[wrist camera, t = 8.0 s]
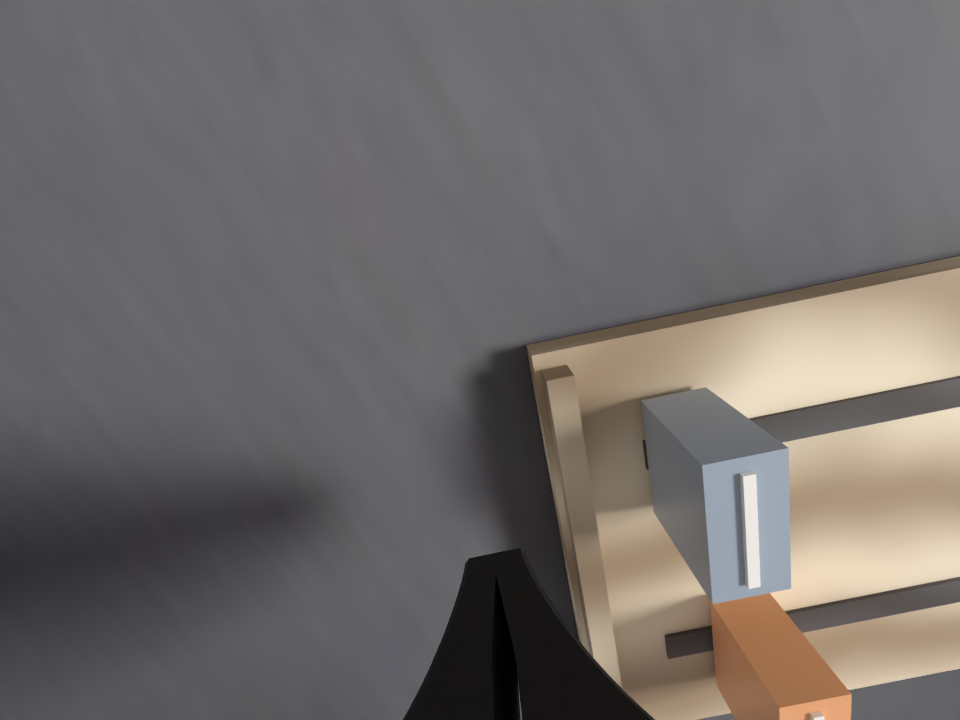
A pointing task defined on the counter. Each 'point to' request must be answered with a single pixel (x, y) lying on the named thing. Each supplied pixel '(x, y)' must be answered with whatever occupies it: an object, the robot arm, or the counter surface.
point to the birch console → (812, 477)
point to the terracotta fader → (771, 665)
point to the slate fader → (720, 493)
